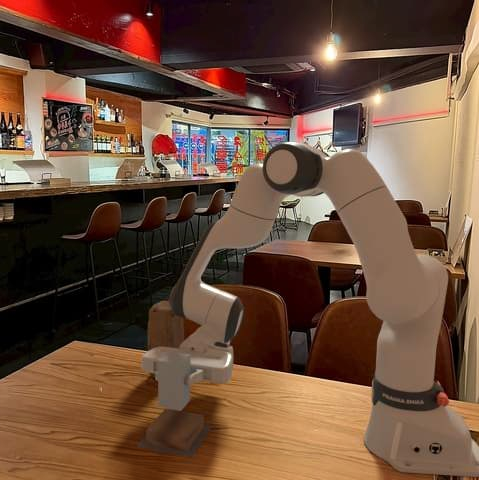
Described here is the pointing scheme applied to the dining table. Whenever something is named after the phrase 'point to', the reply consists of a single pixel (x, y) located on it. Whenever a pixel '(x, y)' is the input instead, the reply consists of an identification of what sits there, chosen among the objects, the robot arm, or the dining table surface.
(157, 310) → the block
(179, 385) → the pillar
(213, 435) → the dining table surface
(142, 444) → the build pad
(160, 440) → the base slab
